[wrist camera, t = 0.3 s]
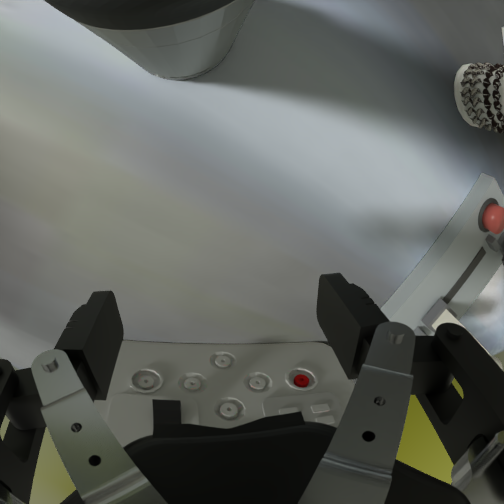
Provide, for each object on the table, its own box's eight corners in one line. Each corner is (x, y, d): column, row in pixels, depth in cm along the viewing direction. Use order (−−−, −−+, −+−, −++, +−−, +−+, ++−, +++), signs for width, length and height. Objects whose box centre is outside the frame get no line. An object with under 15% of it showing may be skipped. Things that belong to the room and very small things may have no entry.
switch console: (481, 172, 32) (502, 181, 28) (509, 228, 37) (526, 238, 33) (377, 311, 38) (392, 329, 35) (422, 342, 43) (435, 357, 40)
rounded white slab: (336, 326, 38) (400, 439, 22) (321, 368, 41) (368, 475, 25) (101, 322, 32) (63, 457, 16) (111, 367, 36) (89, 490, 20)
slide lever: (440, 297, 35) (505, 364, 23) (451, 309, 37) (511, 372, 24) (421, 320, 36) (481, 391, 24) (433, 330, 38) (488, 396, 26)
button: (484, 203, 31) (495, 208, 29) (499, 202, 31) (509, 207, 29) (480, 229, 32) (490, 235, 30) (494, 227, 33) (504, 233, 31)
